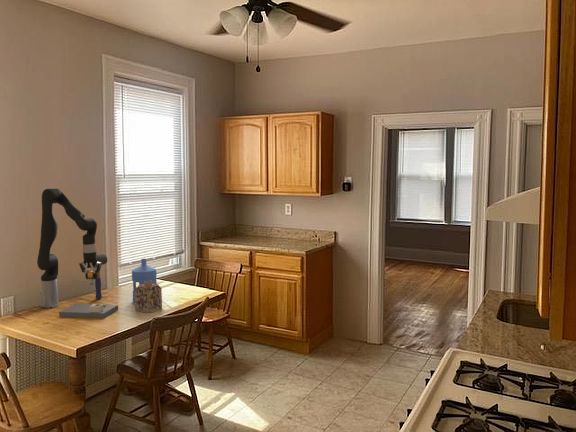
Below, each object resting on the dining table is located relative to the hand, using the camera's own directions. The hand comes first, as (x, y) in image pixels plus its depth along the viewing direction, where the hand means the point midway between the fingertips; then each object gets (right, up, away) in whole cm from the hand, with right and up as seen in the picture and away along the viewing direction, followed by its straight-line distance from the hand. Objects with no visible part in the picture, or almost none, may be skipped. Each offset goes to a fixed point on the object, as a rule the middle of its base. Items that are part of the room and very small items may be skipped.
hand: (91, 279), depth 308 cm
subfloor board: (0, -20, -3) cm, 21 cm away
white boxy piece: (+7, -18, -9) cm, 21 cm away
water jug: (+26, -18, +25) cm, 40 cm away
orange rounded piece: (0, -3, 0) cm, 3 cm away
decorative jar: (+34, -20, +4) cm, 40 cm away
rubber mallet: (-7, -17, +30) cm, 35 cm away
